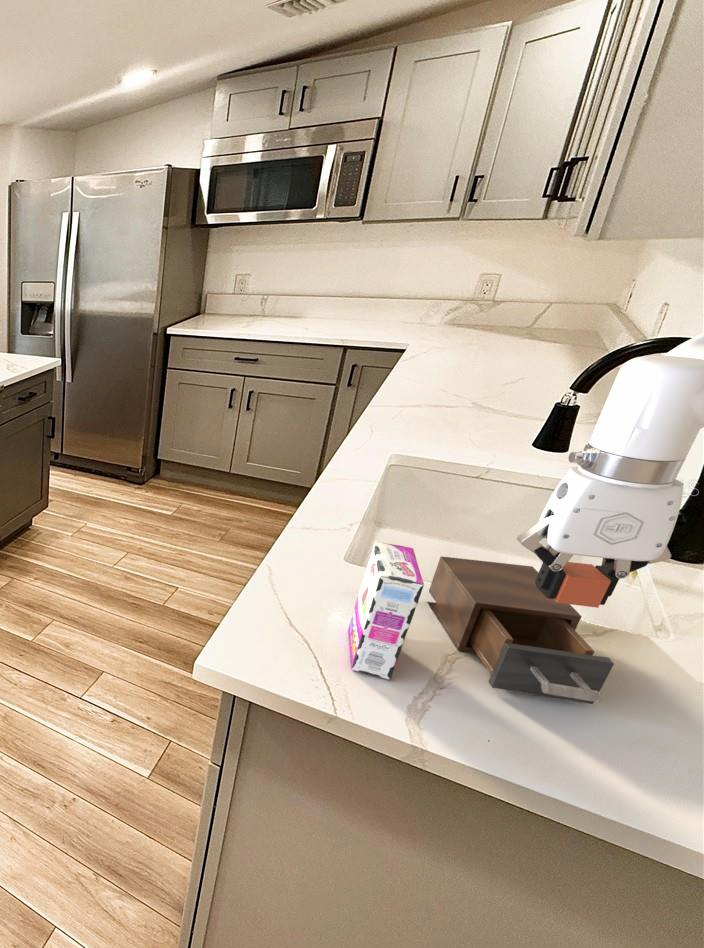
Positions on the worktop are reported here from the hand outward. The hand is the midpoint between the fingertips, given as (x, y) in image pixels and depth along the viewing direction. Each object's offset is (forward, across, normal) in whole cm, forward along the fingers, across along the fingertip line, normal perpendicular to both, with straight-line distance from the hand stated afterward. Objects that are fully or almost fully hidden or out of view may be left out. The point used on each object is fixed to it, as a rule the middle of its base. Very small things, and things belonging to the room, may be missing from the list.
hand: (569, 594), depth 79 cm
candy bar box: (+15, -18, +1) cm, 24 cm away
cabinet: (+15, 0, +13) cm, 20 cm away
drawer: (+14, 0, 0) cm, 14 cm away
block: (0, 0, 0) cm, 0 cm away
